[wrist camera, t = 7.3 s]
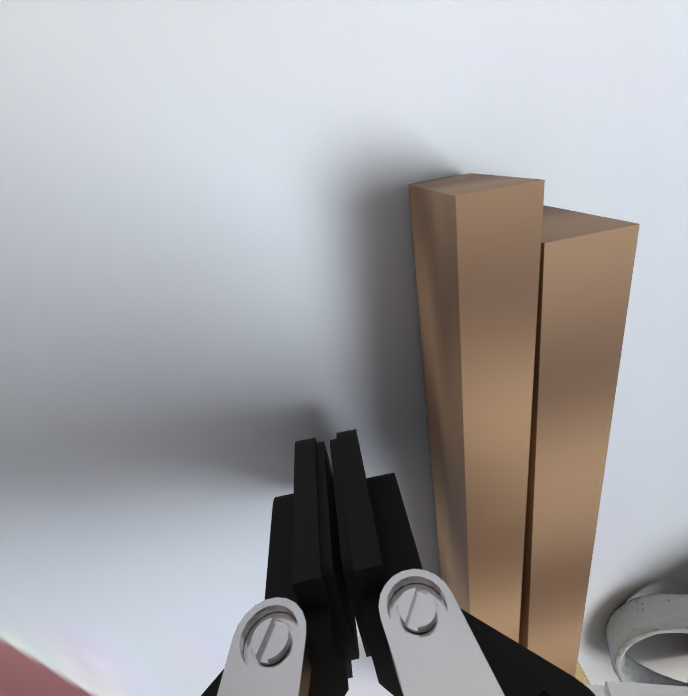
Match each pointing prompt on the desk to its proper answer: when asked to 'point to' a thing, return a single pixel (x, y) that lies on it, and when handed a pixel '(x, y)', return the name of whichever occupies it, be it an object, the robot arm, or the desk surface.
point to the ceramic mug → (644, 633)
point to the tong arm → (479, 377)
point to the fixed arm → (571, 419)
